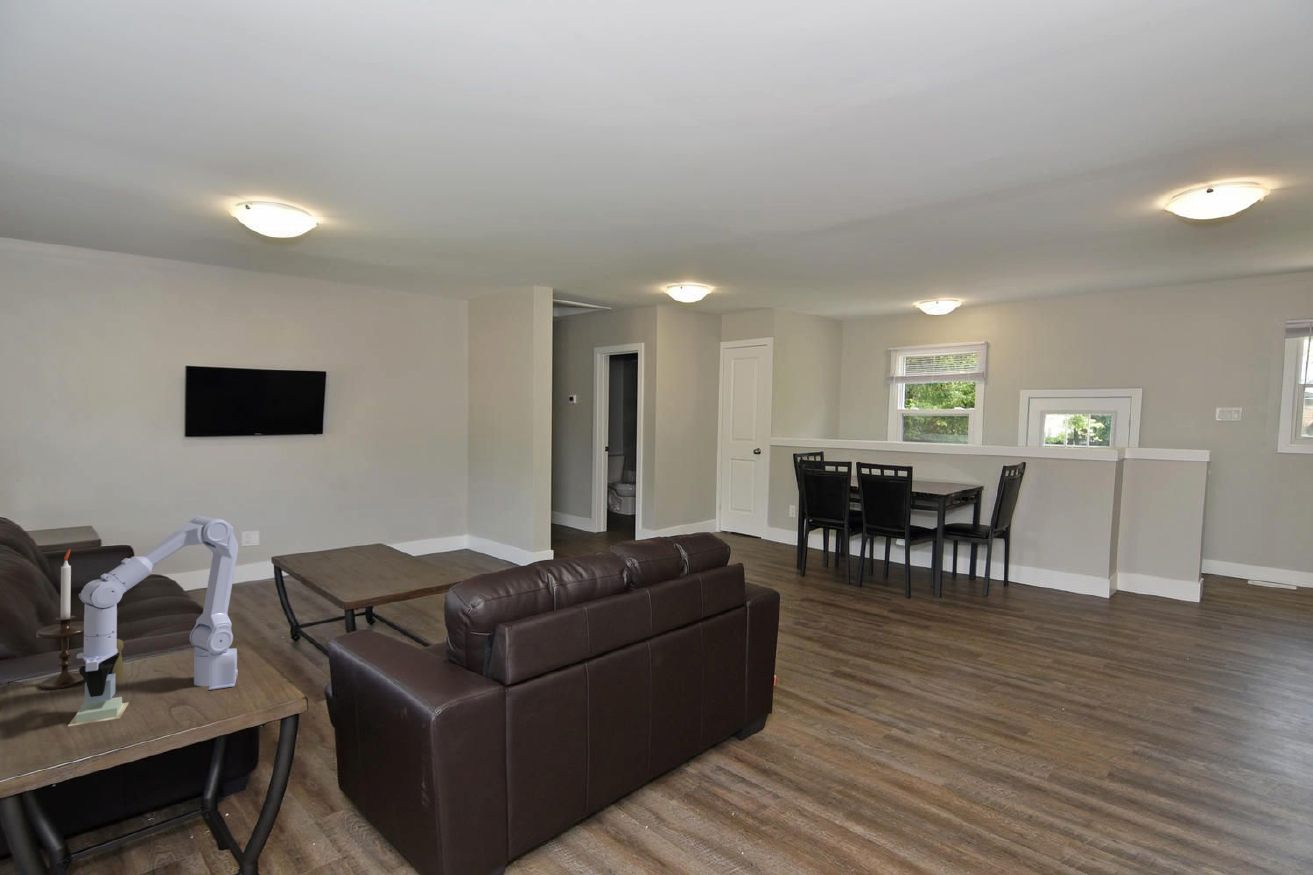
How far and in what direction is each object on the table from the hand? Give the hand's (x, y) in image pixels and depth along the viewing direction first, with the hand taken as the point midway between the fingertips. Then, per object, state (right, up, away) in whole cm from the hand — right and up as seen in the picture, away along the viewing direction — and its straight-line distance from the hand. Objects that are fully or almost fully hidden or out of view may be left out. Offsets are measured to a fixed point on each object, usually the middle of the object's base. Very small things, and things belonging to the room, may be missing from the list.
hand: (99, 691), depth 148 cm
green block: (0, -5, 0) cm, 5 cm away
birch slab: (0, -7, 0) cm, 7 cm away
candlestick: (-26, -6, +19) cm, 32 cm away
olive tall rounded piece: (-15, -6, +20) cm, 26 cm away
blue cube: (0, -2, 0) cm, 2 cm away
